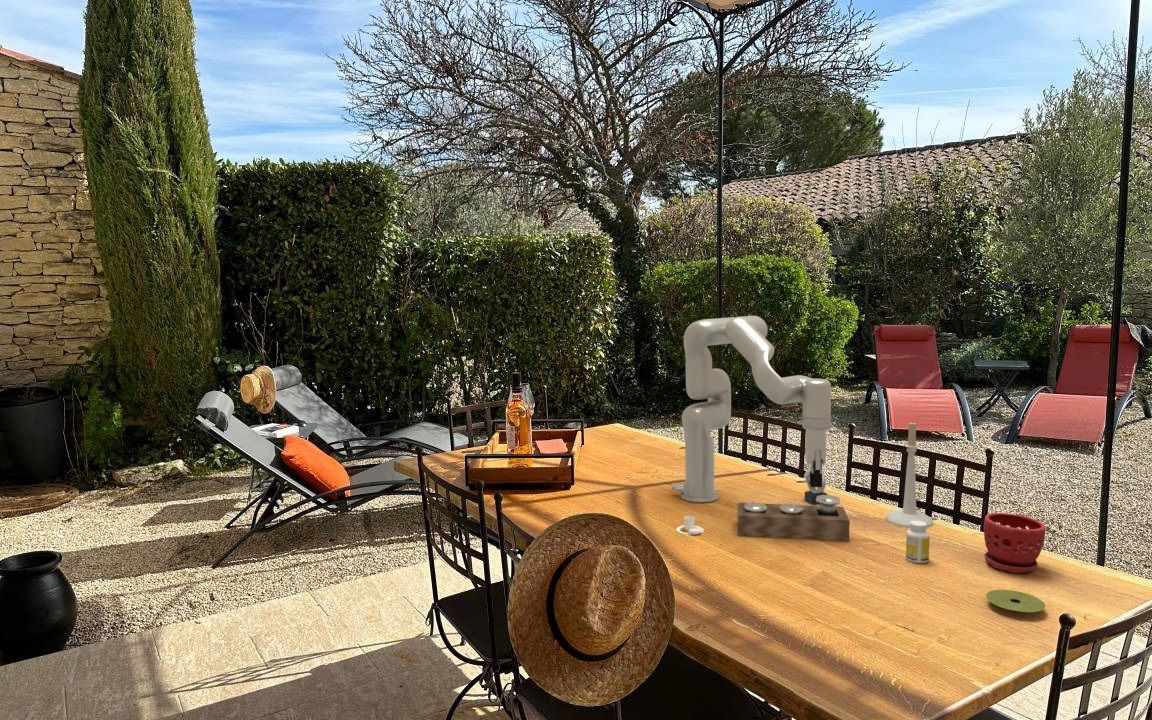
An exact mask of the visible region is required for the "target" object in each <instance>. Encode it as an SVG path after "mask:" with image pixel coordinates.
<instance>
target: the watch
mask: <svg viewBox="0 0 1152 720" xmlns="http://www.w3.org/2000/svg"><path fill="white" fill-rule="evenodd" d="M810 472H811V468H809V469H807V470H806V471H805V473H804V475H803V477H804V478H805V483H806V484H807V487H808V489H809V490H808V491H804V501H805V502H806V503H807V504H809V505H811V506H816V505H820V503H817V502H816V497H817V496H819V495H828V493H827V492H825V489H826V482H827V481H826V475H825V473H824V471H823V470H822V487H811V486H810Z"/></svg>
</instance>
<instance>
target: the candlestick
mask: <svg viewBox="0 0 1152 720" xmlns="http://www.w3.org/2000/svg"><path fill="white" fill-rule="evenodd" d="M907 433H908V435H907V436H908V437H907V444H904V445H905V447H906V452H907V453H908V454H907V462H906V473H905V484H904V496H903V504H902V506H903V507H902V509H897V510H893V511H890V512H889V513H887V514H886V515H885V520H886V521H887V522H888V523H889V524H892V525H894V526H897V525H898V527H901V526H902V527H903V528H908V529H911V528H910V522H911V521H922V522H925V523H926V524H927V528H930V527H932V526H933V525H934V520H933V519H932V517H930V516H929V515H927V514H926V513H922V512H920V511H918V510H917V495H916V494H917V492H916V489H917V487H916V458H915V454H916V452H917V448H918V447H919V445H917V444H916V440H917V439H916V438H917V435H916V434H917V423H916V422H913V421H912V422H908V432H907ZM902 527H901V528H902Z"/></svg>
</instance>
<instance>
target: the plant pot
mask: <svg viewBox="0 0 1152 720" xmlns="http://www.w3.org/2000/svg"><path fill="white" fill-rule="evenodd" d="M1027 527H1028V528H1029V529H1028V528H1027ZM983 535H984V538H983V539H984V544H985V547H986V550H987V551H986V552H985V553H984V555H983V557H984V559H985V561H986V562H987V563H988V564H989V566H992V567H994V569H997V570H998V569H999V570H1002V571H1004V572H1010V573H1017V574H1023V573H1031V572H1033V571H1035V570H1037V568H1038V566H1039V564H1038V561H1037V559H1038V557H1039V556H1040V554H1041V552H1042V550H1043V546H1044V542H1045V538H1046V537H1045V535H1046V526H1045V524H1044V523H1042V522H1041V521H1039V520H1037V519H1034V518H1031V517H1028V516H1025V515H1020V514H1019V515H1018V514H1015V513H1014V514H1013V513H1007V512H1006V513H1005V512H994V513H993V512H992V513H989V514H986V515H985V517H984V522H983Z"/></svg>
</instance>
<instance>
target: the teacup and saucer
mask: <svg viewBox="0 0 1152 720" xmlns="http://www.w3.org/2000/svg"><path fill="white" fill-rule="evenodd" d="M695 522H696V519H695V516H692V515H691V516H690V515H687V516H684V517H683V523H684V524H683V525H679V526H678V527H676V528H675V531H676V532H677V533H679V534H682V535H688V536H689V535H690V536H692V535H694V536H695V535H699V534H702V533H703V532H704V528H703V527H701V526H698V525H695ZM682 528H684V529H685V531H687V532H683V531H681V529H682Z"/></svg>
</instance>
